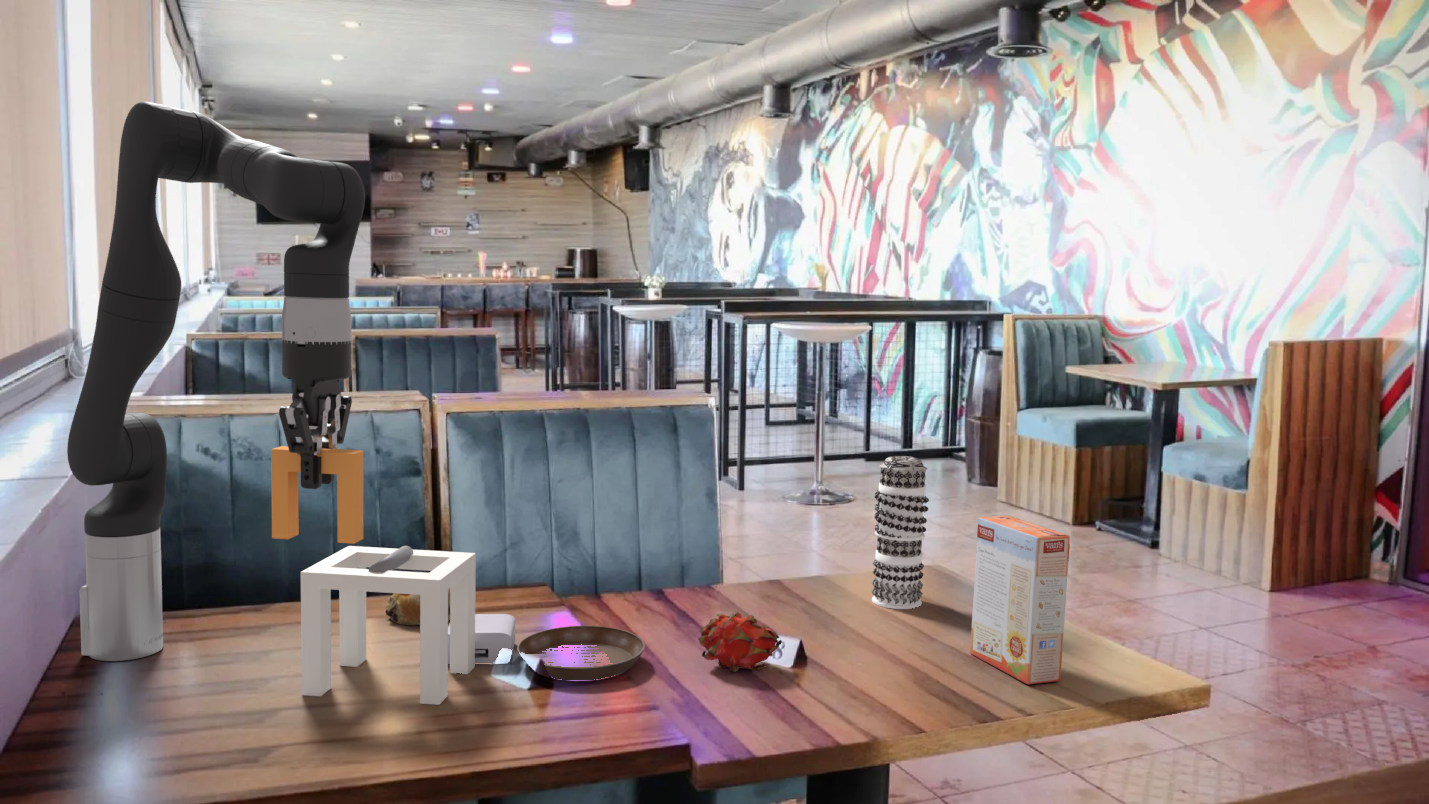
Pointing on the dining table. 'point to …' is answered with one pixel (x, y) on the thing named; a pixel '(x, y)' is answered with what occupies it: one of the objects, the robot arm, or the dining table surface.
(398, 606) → the bread roll
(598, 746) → the dining table surface
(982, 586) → the cracker box
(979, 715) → the dining table surface
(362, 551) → the white square table frame
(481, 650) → the charger
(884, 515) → the decorative candle
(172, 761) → the dining table surface
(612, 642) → the plant saucer
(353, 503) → the orange arch block
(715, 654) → the dragon fruit
